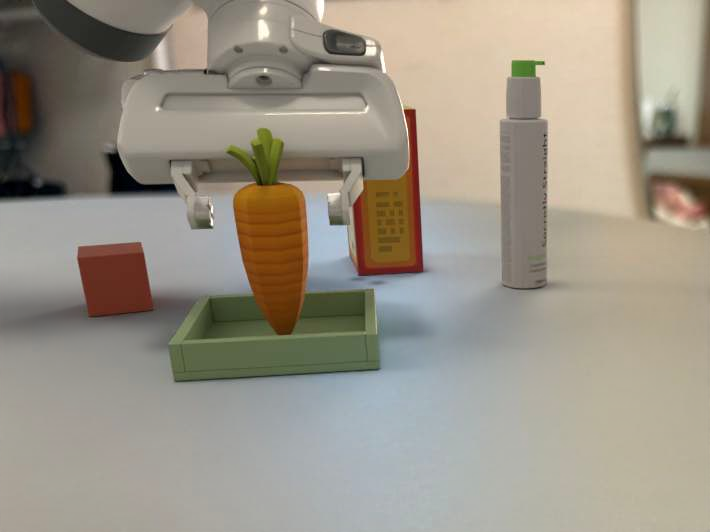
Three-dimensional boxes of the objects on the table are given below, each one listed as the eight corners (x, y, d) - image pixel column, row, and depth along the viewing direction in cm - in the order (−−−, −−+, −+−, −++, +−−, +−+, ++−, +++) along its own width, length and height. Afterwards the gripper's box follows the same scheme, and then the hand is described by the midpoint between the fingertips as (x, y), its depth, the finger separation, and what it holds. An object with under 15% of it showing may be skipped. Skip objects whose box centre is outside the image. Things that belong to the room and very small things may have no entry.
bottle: (525, 291, 79) (524, 60, 72) (492, 283, 82) (488, 60, 75) (556, 283, 82) (558, 60, 75) (523, 275, 85) (522, 60, 78)
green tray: (173, 381, 57) (167, 344, 56) (205, 327, 68) (200, 295, 67) (379, 369, 59) (377, 333, 58) (376, 318, 71) (374, 288, 70)
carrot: (293, 352, 61) (268, 133, 55) (236, 344, 62) (206, 130, 57) (332, 333, 65) (313, 127, 59) (277, 326, 67) (254, 125, 61)
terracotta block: (88, 317, 71) (76, 257, 69) (89, 302, 75) (77, 246, 73) (153, 310, 73) (143, 252, 71) (150, 296, 77) (141, 241, 75)
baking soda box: (349, 255, 93) (336, 101, 87) (408, 252, 95) (400, 100, 89) (358, 275, 85) (345, 106, 79) (423, 271, 87) (415, 105, 81)
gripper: (109, 37, 60) (97, 198, 55) (401, 40, 64) (415, 191, 59) (135, 101, 66) (126, 252, 61) (401, 100, 70) (414, 243, 64)
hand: (270, 222), depth 60 cm, fingers open, 8 cm apart
